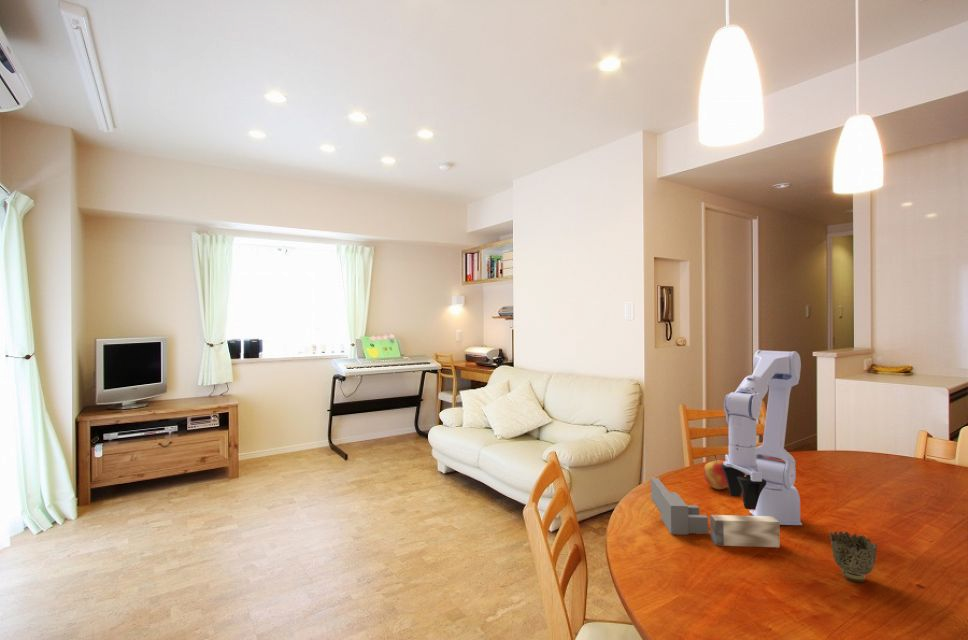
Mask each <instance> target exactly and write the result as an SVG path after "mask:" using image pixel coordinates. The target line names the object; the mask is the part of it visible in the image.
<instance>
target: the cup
mask: <svg viewBox="0 0 968 640" xmlns="http://www.w3.org/2000/svg"><path fill="white" fill-rule="evenodd" d="M829 537H830V542H831V543H830V546H831V551H832V555H833V559H834V561H835V563H836V565H837V566H838V567H839V568H840V569H841V574H842V576H843V578H845V579H847V580H849V581H850V582H855V583H861V582H864V581H865V579H866V575H869V574H870V573H871V572H872V571H873V570H874V567H875V561H876V555H877V548H878V545H877V542H874V543H871V539H870V538H869V537H868V538H867V537H866V536H865V535H863V534H861V535H859V536H858V535H857V534H856V532H854V533H853V534H852V535H851V534H850V533H849V531H845V532H843V531H842V530H841V531H839V532H837V531H834V533H832V532H830V533H829Z"/></svg>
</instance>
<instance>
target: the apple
mask: <svg viewBox="0 0 968 640" xmlns="http://www.w3.org/2000/svg"><path fill="white" fill-rule="evenodd" d="M714 457H715V460H713V461H709V462H707V463H705V464H704V466H703V471H702V472H703V477H704V480H705V481H706V483H707V484H708V485H709V486H710V487H711V488H713V489H715V490H725V489H726V488H728V483H727V480H726V477H725V474H724V472H723V470H722V468H721V465H724V463H723V462H724V461H725V459H724V460H723V459H717V456H716V455H715V454H714Z"/></svg>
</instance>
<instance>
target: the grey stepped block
mask: <svg viewBox="0 0 968 640" xmlns="http://www.w3.org/2000/svg"><path fill="white" fill-rule="evenodd" d="M650 498H651V501H652V502H653V503H654V504H655V506H656V508H657V509H658V510H659V512H660V519H661V521H662V523H663V524H664V526H665V527H666V528H667V530H668V532H669V533H670V534H671V535H679V536H680V535H684V536H685V535H686V536H688V535H689V534H692V533H693V534H695V533H696V534H698V535H699V534H701V535H702V534H703V535H709V517H708V516H707V515H706V514H700V506H699V505H697V504H695V505H694V504H693V505H691V504H689V505H688V504H686V502H685V501H684V500H683V499H682V497H681V496H680V495H679V494H678V493H677V492H673V491H672V492H671V491H669V490H668V489H667V488H666V486H665V485H664V484H663V482H661V480H660V479H659V477H650Z"/></svg>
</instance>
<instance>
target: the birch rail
mask: <svg viewBox="0 0 968 640" xmlns="http://www.w3.org/2000/svg"><path fill="white" fill-rule="evenodd" d="M709 519H710V540H711V541H712V543H713V544H714V545H715V546H726V547H727V546H728V547H729V546H731V547H755V548H756V547H757V548H781V547H780V546H781V545H780V544H781V543H780V538H781V537H780V534H781V533H780V525H779V521H778V520H776V519H775V518H774V517H773V516H753V515H735V514H733V515H727V514H726V515H725V514H710V518H709Z"/></svg>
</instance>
